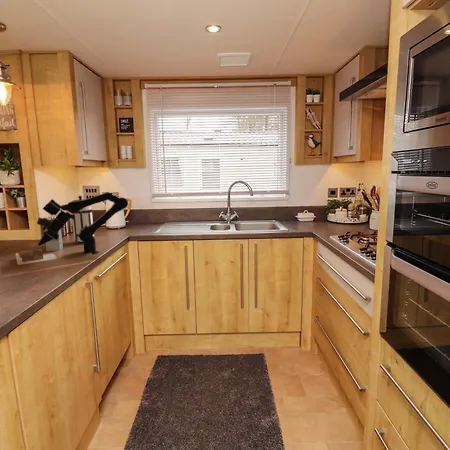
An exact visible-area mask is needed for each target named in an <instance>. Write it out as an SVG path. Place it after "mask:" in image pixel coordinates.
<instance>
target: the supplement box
mask: <svg viewBox="0 0 450 450" xmlns="http://www.w3.org/2000/svg"><path fill="white" fill-rule="evenodd" d="M58 234H59V238H58V239H57V240H56V239H53V240H51V241H48V242H46V243H45V248H46V249H45V250H46V252H55V251H61V250H63V246H64V245H63V238H62V237H63V236H62V228H61V229H60V231H59V232H58Z"/></svg>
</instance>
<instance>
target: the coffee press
mask: <svg viewBox="0 0 450 450" xmlns="http://www.w3.org/2000/svg"><path fill="white" fill-rule="evenodd" d="M82 198H83V196H82V195H78V199H74V200H72V201H78V200H85V199H86V198H85V199H82ZM70 214H71V215H74V220H73V219H71V222H72V224H71V225H72V235H73V240H74V245H78V244H79V243H81V242H83V241H82V240H80V238H79V232H80V229H82V228H83V227H84V226H85V225H87V226H89V225H91V224H93V223H94V221H93V220H94V219H93V208H92V205H90V206H87V207H85V208H83V209H81V210H79V211H77V212H75V213H70ZM93 236H94V237H95V233H94V234H93ZM83 243H84V242H83Z"/></svg>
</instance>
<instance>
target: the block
mask: <svg viewBox="0 0 450 450" xmlns="http://www.w3.org/2000/svg"><path fill="white" fill-rule="evenodd" d="M20 255H21V257H20V258H22V262H26V261H33V260H39V259H43V255H44V254H43V249H42V248H36V249H30V250H22V251H20Z"/></svg>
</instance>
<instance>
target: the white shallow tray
mask: <svg viewBox="0 0 450 450" xmlns="http://www.w3.org/2000/svg"><path fill="white" fill-rule="evenodd" d="M15 259H16V263H17V265H26V264H31V263H32V264H33V263H37V262H38V263H39V262H45V261H50V260H57V259H58V257H57V256H56V255H55V254H54V253H50V254H49V253H47V254H43V259H39V260H33V261H26V262H22V257H20V254H19V252H16V253H15Z"/></svg>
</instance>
